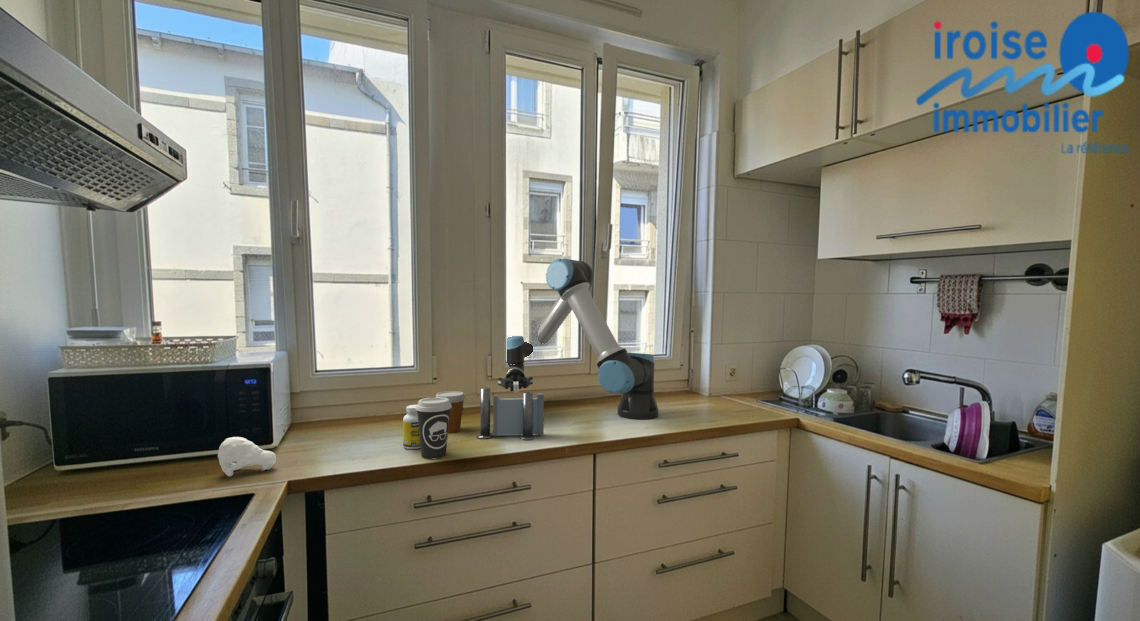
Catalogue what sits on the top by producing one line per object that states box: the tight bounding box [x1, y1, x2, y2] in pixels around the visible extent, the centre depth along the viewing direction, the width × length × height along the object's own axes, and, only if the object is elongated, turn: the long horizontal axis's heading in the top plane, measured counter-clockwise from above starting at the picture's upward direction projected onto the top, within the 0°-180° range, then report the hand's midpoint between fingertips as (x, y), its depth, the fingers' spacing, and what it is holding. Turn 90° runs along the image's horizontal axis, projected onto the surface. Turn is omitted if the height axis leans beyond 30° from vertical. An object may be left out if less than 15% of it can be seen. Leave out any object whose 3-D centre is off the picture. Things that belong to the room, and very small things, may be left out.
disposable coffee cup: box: [435, 390, 466, 434], centre depth 152 cm, size 10×10×12 cm
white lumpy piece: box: [217, 436, 277, 478], centre depth 115 cm, size 6×8×12 cm
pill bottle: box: [402, 404, 421, 450], centre depth 135 cm, size 6×6×12 cm
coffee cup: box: [415, 396, 452, 460], centre depth 128 cm, size 10×10×15 cm
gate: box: [492, 392, 545, 436], centre depth 146 cm, size 16×2×12 cm, turn 96°
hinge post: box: [476, 387, 495, 440], centre depth 145 cm, size 5×5×15 cm
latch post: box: [519, 391, 537, 441], centre depth 144 cm, size 5×5×14 cm
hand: (516, 388), depth 157 cm, fingers closed
